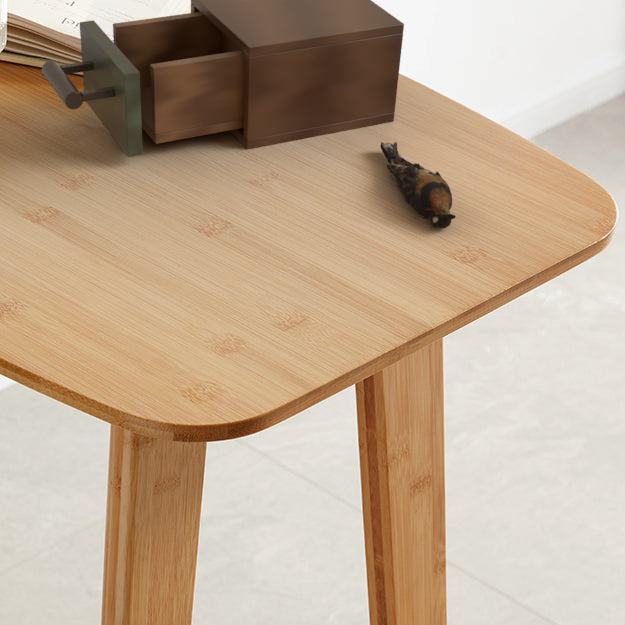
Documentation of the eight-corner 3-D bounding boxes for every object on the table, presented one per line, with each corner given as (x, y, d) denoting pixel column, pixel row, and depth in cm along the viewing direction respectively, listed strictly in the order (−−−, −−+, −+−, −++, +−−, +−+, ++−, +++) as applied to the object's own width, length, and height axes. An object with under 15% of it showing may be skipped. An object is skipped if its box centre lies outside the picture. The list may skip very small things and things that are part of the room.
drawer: (78, 166, 85) (72, 82, 81) (38, 108, 92) (30, 28, 88) (275, 130, 91) (279, 50, 87) (223, 78, 98) (224, 2, 94)
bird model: (424, 243, 80) (428, 210, 79) (371, 153, 91) (374, 123, 89) (466, 239, 81) (471, 207, 80) (409, 150, 92) (412, 120, 90)
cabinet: (247, 149, 90) (249, 47, 85) (191, 89, 98) (190, -7, 93) (393, 121, 96) (404, 23, 90) (329, 66, 104) (335, -26, 99)
